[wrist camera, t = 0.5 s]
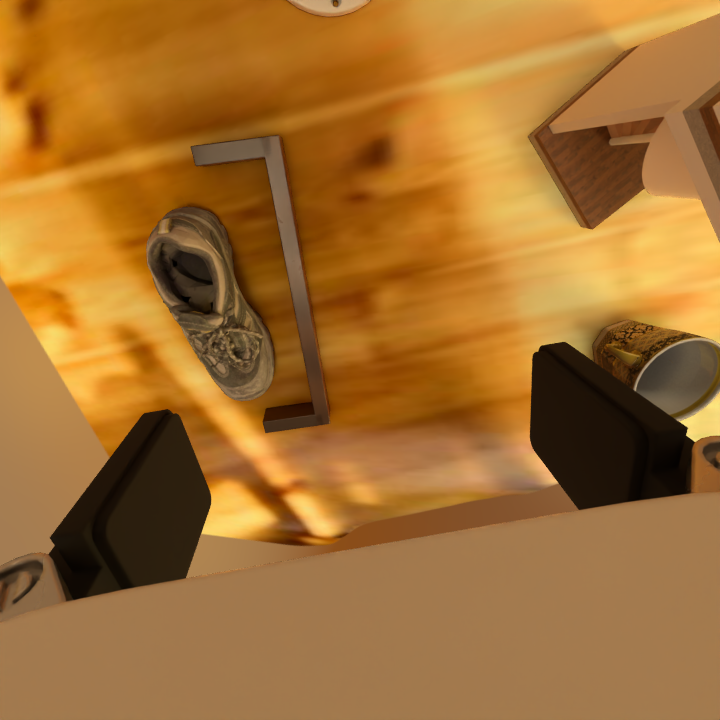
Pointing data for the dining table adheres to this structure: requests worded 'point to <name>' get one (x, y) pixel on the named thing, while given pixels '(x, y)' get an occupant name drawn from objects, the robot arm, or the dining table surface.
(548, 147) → the cream pedestal stand
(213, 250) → the hiking shoe
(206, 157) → the bracket
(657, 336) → the ceramic cup
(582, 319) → the dining table surface
